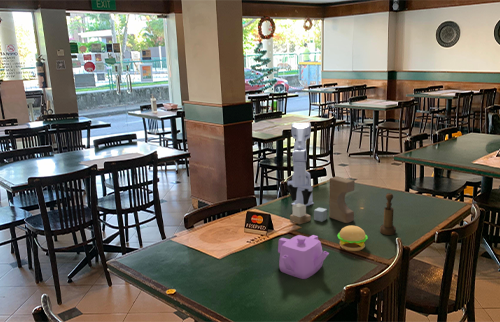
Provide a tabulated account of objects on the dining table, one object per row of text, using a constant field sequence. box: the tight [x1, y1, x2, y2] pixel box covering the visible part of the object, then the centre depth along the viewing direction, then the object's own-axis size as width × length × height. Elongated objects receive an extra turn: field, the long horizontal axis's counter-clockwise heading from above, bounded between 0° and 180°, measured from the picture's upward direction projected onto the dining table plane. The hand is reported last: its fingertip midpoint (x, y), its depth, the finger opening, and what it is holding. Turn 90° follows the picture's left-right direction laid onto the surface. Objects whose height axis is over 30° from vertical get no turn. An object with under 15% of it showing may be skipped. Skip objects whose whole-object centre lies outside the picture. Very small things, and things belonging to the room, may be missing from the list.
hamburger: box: [337, 225, 368, 252], centre depth 171 cm, size 12×12×9 cm
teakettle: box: [277, 234, 330, 280], centre depth 154 cm, size 17×17×12 cm
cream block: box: [292, 203, 307, 217], centre depth 201 cm, size 4×4×5 cm
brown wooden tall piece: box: [379, 192, 397, 236], centre depth 183 cm, size 7×6×18 cm
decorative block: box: [328, 176, 356, 224], centre depth 199 cm, size 11×6×20 cm, turn 37°
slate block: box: [313, 207, 328, 222], centre depth 202 cm, size 4×4×5 cm
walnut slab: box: [289, 213, 312, 225], centre depth 202 cm, size 7×7×3 cm
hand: (299, 202), depth 200 cm, fingers open, 7 cm apart
